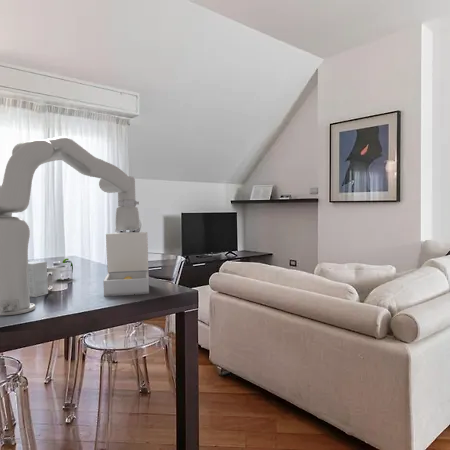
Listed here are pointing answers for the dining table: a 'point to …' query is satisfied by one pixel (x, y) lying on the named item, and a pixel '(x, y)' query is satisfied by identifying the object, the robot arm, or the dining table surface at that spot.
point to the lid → (127, 252)
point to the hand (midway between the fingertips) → (128, 245)
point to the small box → (37, 278)
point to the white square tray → (126, 283)
